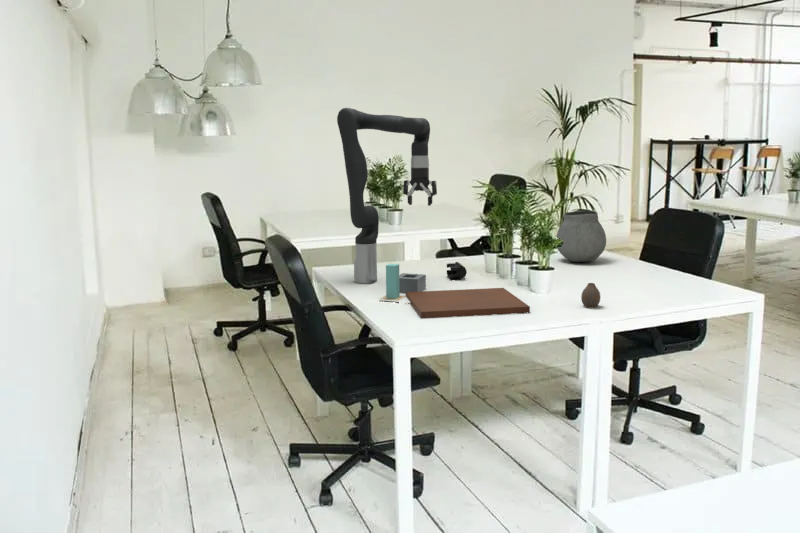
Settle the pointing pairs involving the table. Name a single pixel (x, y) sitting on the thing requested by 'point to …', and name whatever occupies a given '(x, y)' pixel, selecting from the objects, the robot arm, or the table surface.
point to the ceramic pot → (581, 236)
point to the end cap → (456, 271)
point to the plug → (392, 281)
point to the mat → (392, 299)
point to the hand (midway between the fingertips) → (420, 205)
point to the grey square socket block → (412, 282)
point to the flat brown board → (465, 302)
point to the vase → (590, 296)
